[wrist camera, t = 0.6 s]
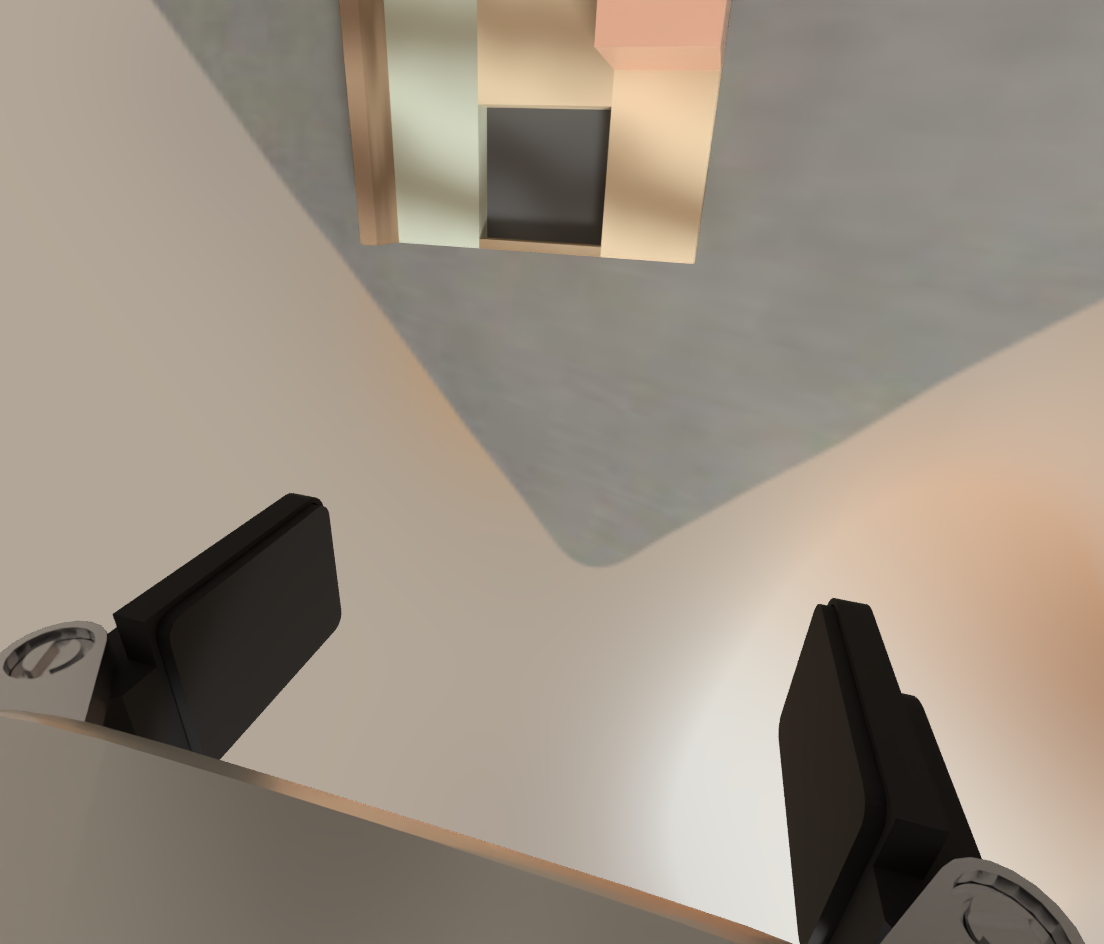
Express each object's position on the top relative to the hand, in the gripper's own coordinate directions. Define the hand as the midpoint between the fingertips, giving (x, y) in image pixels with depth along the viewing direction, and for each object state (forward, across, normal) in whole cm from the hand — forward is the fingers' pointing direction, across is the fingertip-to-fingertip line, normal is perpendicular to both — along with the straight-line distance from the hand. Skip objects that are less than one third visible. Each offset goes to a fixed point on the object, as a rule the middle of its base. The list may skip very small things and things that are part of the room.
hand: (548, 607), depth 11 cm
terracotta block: (+25, +2, -15) cm, 29 cm away
